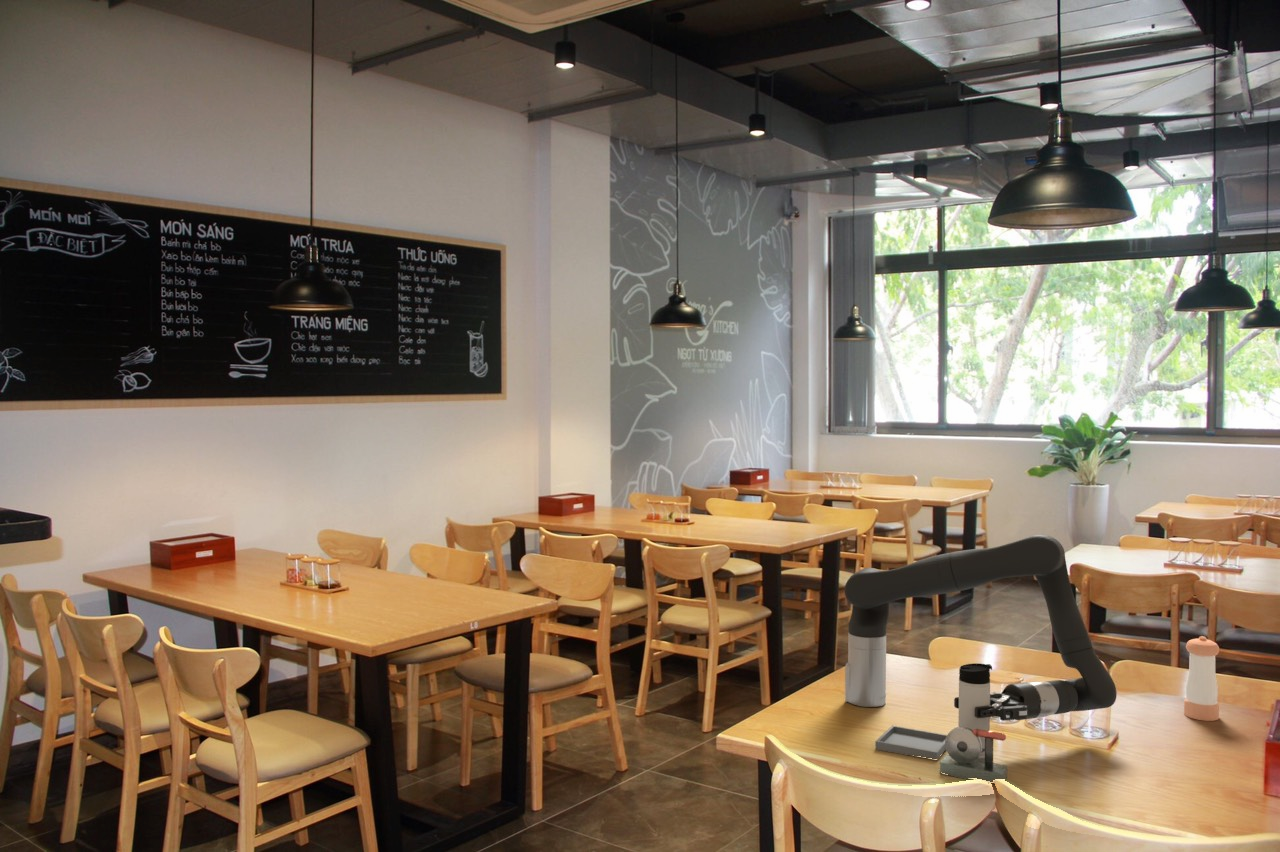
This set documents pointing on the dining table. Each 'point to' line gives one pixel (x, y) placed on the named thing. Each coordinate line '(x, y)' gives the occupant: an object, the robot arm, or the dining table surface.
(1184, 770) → the dining table surface
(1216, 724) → the dining table surface
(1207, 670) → the salt shaker
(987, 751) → the crank stand
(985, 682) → the travel mug
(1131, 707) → the dining table surface
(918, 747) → the tray
